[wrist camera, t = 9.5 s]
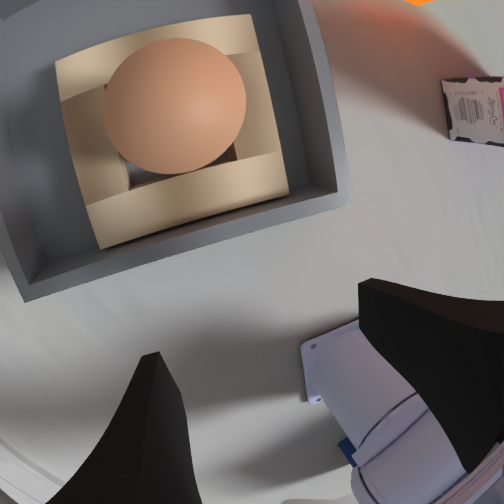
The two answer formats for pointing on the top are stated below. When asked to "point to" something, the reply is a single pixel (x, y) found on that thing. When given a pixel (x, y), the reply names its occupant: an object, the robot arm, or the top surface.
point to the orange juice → (418, 1)
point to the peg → (174, 106)
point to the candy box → (475, 109)
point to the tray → (64, 175)
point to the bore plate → (175, 185)
